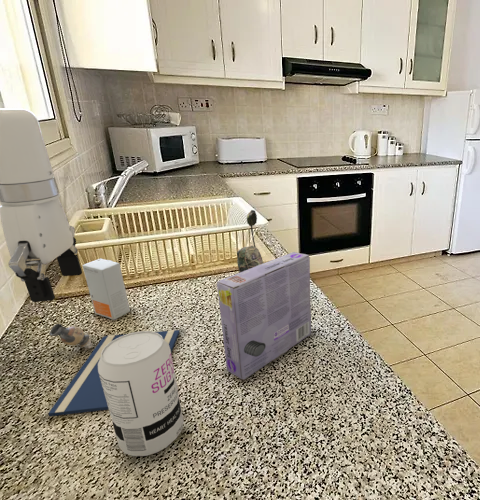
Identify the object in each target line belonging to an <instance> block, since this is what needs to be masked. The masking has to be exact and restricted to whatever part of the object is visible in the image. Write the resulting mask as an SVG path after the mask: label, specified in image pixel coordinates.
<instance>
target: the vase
mask: <svg viewBox="0 0 480 500" xmlns="http://www.w3.org/2000/svg"><path fill="white" fill-rule="evenodd" d="M49 336H51V337H59V338H60V341H61V343H63V344H64V345H67V346H78V345H79V346H80V347H82V348H85V349H84V351H83V352H82V354H84V353H86V352H87V353H88V351H87V350H90V349H92V350H94V347H93V343H92V340H91V337H90V335H89V334H86V333H85V332H84V330H83V329H82V328H81V327H78V326H73V325H72V326H68V327H65V326H63V325H62V324H61V323H56V324H53V326H52V327H51V329H50V330H49Z"/></svg>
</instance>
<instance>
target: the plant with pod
mask: <svg viewBox="0 0 480 500" xmlns="http://www.w3.org/2000/svg"><path fill="white" fill-rule="evenodd" d="M257 221H258V216H257V212H256V210H254V209H250V211H249V212H248V213H247V214H246V223H247V225H248V227H250V233H251V238H252V243H253V245H249V246H243V247H241V248H240V249H238V251H237V252H236V263H237V269H238V273H240V272H243V271H246V270H248V269H251V268H253V267H256V266H258V265H261V264H263V263H264V261H263V257H262V255H261V253H260V249H258V248H257V246H256V242H255V237H254V230H253V229H254V228H253V226H255V225H256V224H257Z"/></svg>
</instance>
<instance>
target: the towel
mask: <svg viewBox="0 0 480 500" xmlns="http://www.w3.org/2000/svg"><path fill="white" fill-rule="evenodd" d="M155 332H156V333H158V334H160V335H161V336H162V338H163V339H164V340H165V341H166V342H167V343H168V344H169V347H170V350H171V353H172V352H173V349H174V347H175V345H176V342H177V340H178V338H179V335H180V329H169V330H161V331H155ZM126 334H127V333H125V334H108V335H104V336H103V337H102V338H101V339H100V340H99V342H98V343H97V345H96V346H95V348H93V350H92V352H91V353H90V355H89V356H88V358H87V359H86V361H84V363H83V364H82V366H80V368H79V370H78V371H77V373H76V374H75V376H74V377H73V378H72V380H70V382H69V383H68V385H67V387H66V388H65V389H64V391H63V392H62V394H61V395H60V396H59V397H58V399H57V401H56V402H55V403H54V404H53V406H52V408H51V409H50V410H49V411H48V414H47V415H48V417H55V416H57V417H58V416H66V415H74V414H83V413H90V412H101V411H107V410H108V411H109V408H108V405H107V401H106V398H105V394H104V390H103V387H102V383H101V380H100V376H99V372H98V362H99V360H100V357H101V352H102V350H103V349H104V347H105V346H106V345H108V344H109V343H110V342H111V341H113V340H115V339H117V338H119V337H121V336H123V335H126Z"/></svg>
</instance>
